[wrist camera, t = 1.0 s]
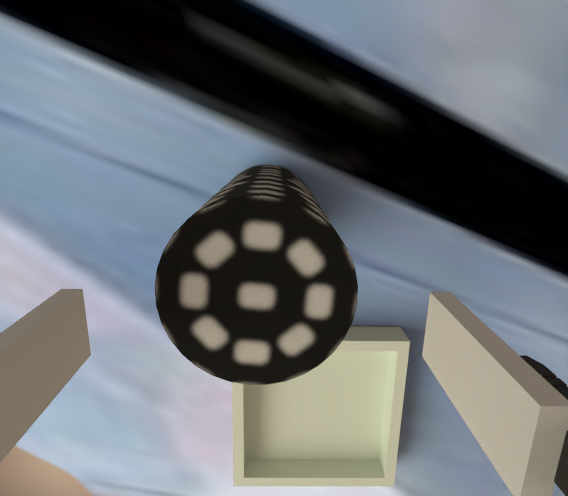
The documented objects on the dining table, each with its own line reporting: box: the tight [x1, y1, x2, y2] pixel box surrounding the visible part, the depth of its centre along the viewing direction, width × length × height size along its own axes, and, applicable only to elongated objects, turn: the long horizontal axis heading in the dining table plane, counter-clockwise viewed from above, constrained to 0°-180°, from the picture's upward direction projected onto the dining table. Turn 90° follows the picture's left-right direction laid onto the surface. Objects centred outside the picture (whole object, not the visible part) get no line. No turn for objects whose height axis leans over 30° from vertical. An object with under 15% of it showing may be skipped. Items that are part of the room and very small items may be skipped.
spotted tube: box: [155, 165, 358, 385], centre depth 26 cm, size 8×8×20 cm
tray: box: [232, 326, 410, 486], centre depth 39 cm, size 16×16×3 cm
